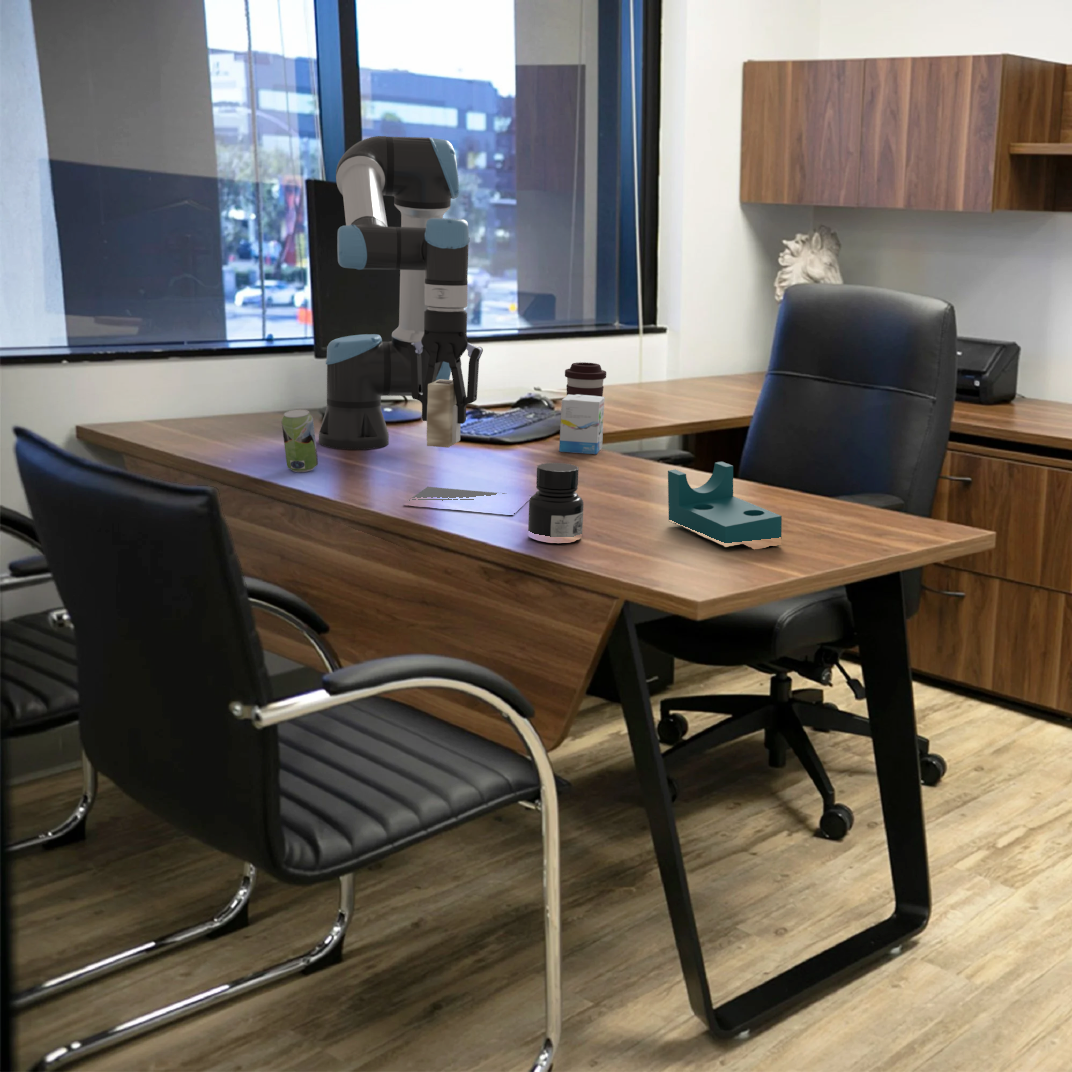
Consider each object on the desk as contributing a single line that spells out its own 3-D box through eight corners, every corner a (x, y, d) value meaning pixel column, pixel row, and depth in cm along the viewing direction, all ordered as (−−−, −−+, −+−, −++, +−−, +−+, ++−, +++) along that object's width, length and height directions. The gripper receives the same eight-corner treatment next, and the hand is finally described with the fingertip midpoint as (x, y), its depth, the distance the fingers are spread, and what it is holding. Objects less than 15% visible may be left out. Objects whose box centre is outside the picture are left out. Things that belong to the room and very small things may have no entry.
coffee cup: (556, 427, 314) (559, 364, 310) (571, 420, 323) (573, 360, 319) (595, 431, 310) (598, 368, 306) (609, 425, 319) (612, 363, 315)
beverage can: (323, 469, 260) (323, 409, 257) (305, 476, 253) (304, 414, 250) (295, 465, 262) (294, 406, 258) (276, 472, 255) (275, 411, 252)
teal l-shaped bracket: (668, 529, 227) (667, 470, 223) (722, 519, 231) (721, 461, 228) (725, 556, 211) (725, 494, 208) (781, 545, 215) (781, 483, 212)
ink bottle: (562, 549, 209) (565, 475, 206) (516, 539, 213) (518, 468, 210) (592, 537, 217) (596, 466, 214) (547, 528, 221) (550, 458, 218)
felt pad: (404, 506, 233) (404, 503, 233) (427, 489, 246) (427, 486, 246) (513, 515, 229) (513, 513, 228) (531, 498, 242) (531, 495, 242)
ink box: (596, 455, 283) (599, 401, 280) (558, 452, 285) (560, 399, 282) (602, 447, 291) (605, 395, 288) (565, 444, 293) (567, 393, 290)
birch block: (426, 445, 233) (427, 383, 230) (438, 439, 239) (439, 378, 236) (448, 447, 232) (449, 384, 229) (459, 440, 238) (460, 379, 235)
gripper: (392, 307, 228) (391, 440, 233) (487, 313, 224) (484, 447, 230) (405, 304, 235) (404, 433, 241) (498, 309, 231) (494, 440, 237)
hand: (443, 440), depth 235 cm, fingers closed on birch block, 4 cm apart
